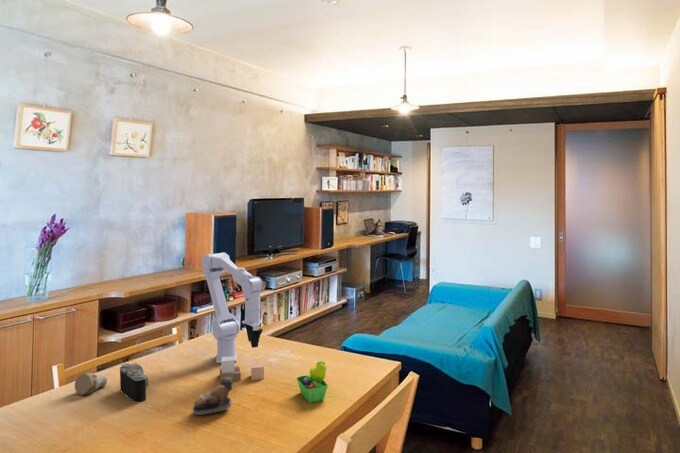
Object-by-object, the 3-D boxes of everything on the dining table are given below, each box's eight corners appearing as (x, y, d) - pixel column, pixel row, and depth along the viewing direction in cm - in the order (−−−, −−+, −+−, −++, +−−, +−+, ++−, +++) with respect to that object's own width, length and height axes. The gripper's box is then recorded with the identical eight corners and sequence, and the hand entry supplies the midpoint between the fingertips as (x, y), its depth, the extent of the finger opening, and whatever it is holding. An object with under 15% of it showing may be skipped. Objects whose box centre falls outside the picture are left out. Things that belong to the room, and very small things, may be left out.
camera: (157, 397, 146) (156, 367, 145) (136, 404, 141) (135, 373, 140) (138, 384, 156) (137, 357, 155) (118, 390, 151) (117, 362, 151)
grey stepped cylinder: (114, 386, 156) (106, 367, 150) (90, 407, 148) (81, 388, 143) (100, 377, 158) (92, 359, 153) (75, 398, 151) (66, 379, 146)
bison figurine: (193, 420, 130) (193, 386, 130) (191, 410, 137) (191, 378, 136) (235, 412, 135) (234, 380, 135) (231, 403, 142) (230, 372, 141)
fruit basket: (295, 391, 150) (295, 359, 150) (320, 387, 154) (320, 355, 153) (306, 405, 140) (306, 370, 139) (332, 400, 143) (332, 366, 143)
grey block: (221, 369, 164) (221, 357, 164) (234, 368, 165) (234, 356, 165) (221, 373, 160) (221, 361, 159) (234, 372, 161) (234, 360, 160)
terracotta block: (250, 375, 165) (250, 363, 164) (263, 374, 166) (262, 362, 166) (251, 380, 160) (251, 368, 160) (264, 379, 161) (263, 366, 161)
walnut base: (219, 376, 165) (219, 368, 165) (238, 374, 167) (238, 366, 167) (220, 383, 158) (220, 375, 158) (240, 381, 160) (240, 372, 160)
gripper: (239, 305, 175) (240, 339, 175) (244, 314, 161) (245, 351, 162) (257, 304, 177) (257, 337, 178) (264, 312, 164) (264, 348, 164)
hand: (253, 344), depth 170 cm, fingers open, 7 cm apart
